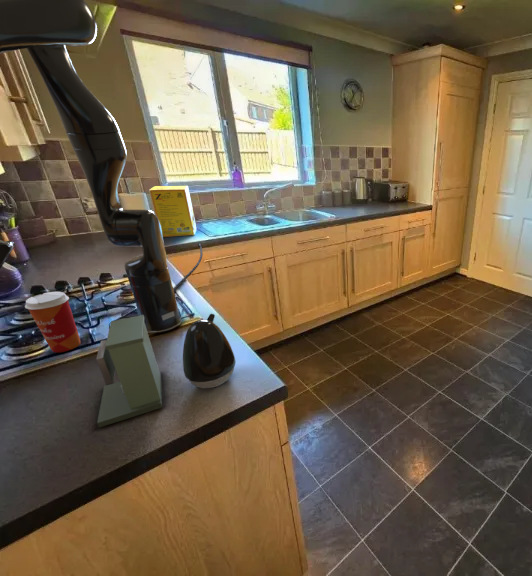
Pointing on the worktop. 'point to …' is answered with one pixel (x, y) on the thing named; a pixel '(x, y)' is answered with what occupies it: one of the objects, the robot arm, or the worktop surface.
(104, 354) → the plate
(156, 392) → the dispenser housing
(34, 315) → the paper cup
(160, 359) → the worktop surface
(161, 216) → the packaging box
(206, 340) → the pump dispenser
